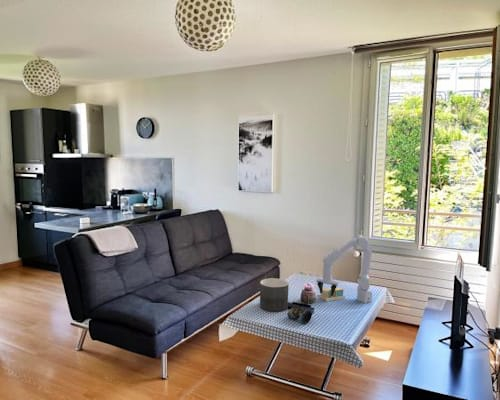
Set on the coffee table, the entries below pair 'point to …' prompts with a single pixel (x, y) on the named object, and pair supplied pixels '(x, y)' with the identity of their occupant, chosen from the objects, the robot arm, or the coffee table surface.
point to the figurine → (300, 314)
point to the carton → (326, 293)
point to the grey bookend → (332, 298)
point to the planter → (274, 294)
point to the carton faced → (338, 292)
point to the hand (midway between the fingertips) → (326, 294)
